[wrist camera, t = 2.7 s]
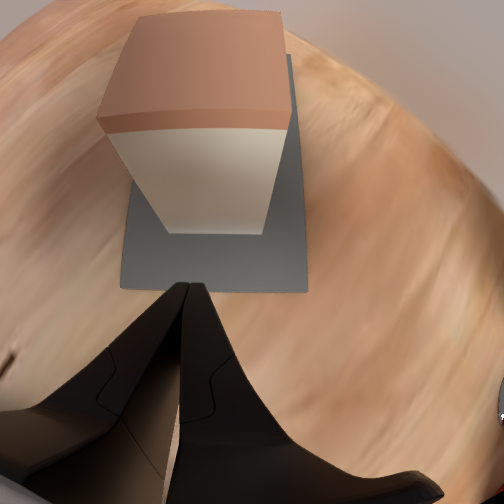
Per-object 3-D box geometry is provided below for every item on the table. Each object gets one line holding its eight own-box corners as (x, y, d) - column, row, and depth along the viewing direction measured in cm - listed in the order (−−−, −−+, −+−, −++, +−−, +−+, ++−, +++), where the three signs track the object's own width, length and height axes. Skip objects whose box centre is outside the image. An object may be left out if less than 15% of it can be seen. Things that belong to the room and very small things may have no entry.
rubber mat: (305, 292, 17) (307, 291, 16) (123, 288, 16) (120, 287, 16) (289, 59, 21) (290, 54, 20) (164, 59, 21) (163, 54, 20)
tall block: (261, 234, 17) (292, 111, 7) (169, 233, 16) (96, 117, 7) (261, 154, 18) (280, 11, 8) (177, 154, 18) (139, 17, 8)
